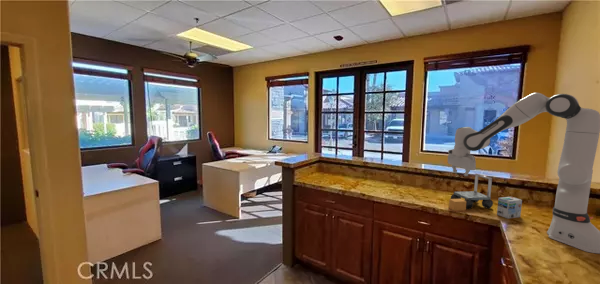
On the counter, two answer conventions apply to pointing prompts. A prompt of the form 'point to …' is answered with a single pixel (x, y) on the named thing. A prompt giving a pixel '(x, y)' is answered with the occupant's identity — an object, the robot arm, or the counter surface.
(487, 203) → the trolley
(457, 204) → the block
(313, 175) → the counter surface
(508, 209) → the light bulb box
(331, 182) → the counter surface
